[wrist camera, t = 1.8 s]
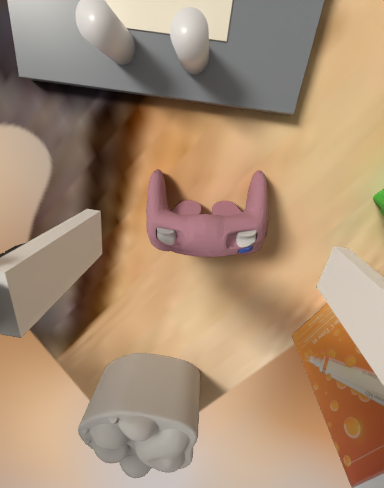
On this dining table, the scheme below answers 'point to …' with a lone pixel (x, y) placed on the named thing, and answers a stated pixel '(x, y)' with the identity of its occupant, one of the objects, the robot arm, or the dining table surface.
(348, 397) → the small box
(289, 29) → the docking tray
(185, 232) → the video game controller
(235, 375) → the dining table surface
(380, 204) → the fruit basket
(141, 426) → the lumpy-topped squat cylinder
